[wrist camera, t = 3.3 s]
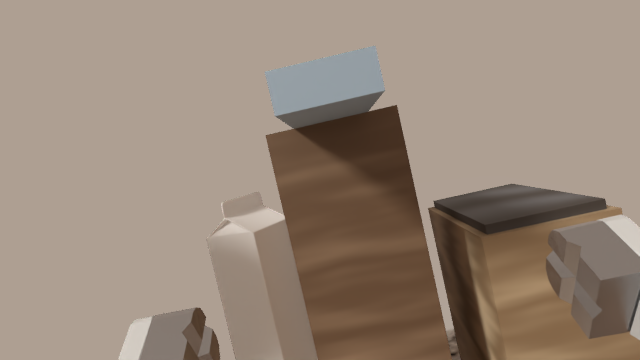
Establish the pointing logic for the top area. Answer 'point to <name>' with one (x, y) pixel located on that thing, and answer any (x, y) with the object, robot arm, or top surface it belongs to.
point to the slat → (326, 88)
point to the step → (515, 275)
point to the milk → (259, 283)
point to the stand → (359, 239)
